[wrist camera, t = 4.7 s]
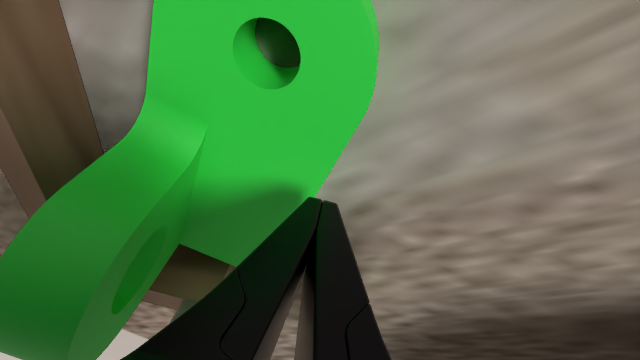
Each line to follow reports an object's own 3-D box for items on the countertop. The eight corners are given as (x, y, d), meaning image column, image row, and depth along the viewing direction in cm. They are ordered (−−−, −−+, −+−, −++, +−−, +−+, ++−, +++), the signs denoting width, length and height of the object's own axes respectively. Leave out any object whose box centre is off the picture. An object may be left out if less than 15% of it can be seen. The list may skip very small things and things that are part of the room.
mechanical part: (276, 244, 16) (204, 444, 10) (160, 194, 15) (2, 377, 9) (421, -4, 9) (496, 173, 2) (209, -125, 8) (-458, -314, 2)
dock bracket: (252, -255, 6) (83, -473, 3) (235, 267, 17) (195, 353, 14) (-93, -335, 7) (-656, -639, 3) (107, 233, 18) (36, 310, 14)
